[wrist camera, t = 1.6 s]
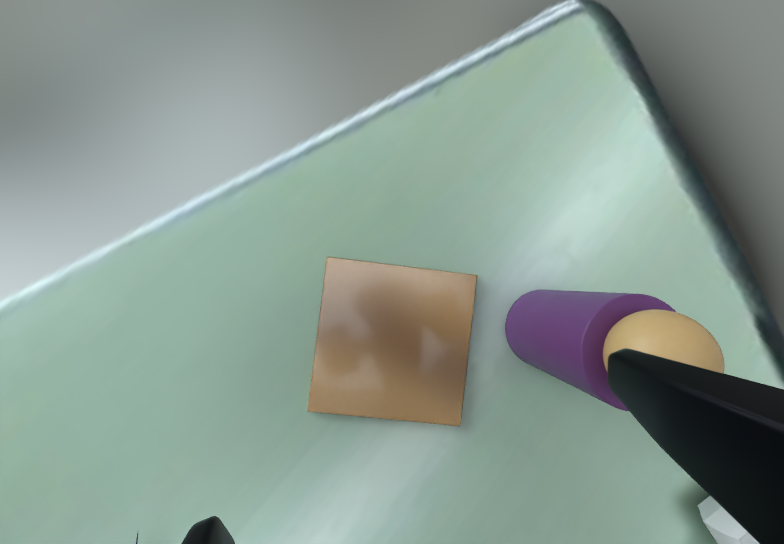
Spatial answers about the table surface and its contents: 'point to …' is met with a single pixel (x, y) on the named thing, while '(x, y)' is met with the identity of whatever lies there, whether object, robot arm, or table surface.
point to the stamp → (723, 524)
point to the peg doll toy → (602, 335)
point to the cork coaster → (392, 342)
